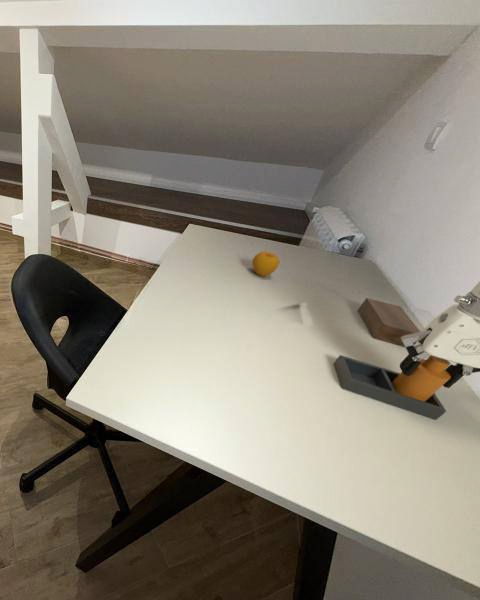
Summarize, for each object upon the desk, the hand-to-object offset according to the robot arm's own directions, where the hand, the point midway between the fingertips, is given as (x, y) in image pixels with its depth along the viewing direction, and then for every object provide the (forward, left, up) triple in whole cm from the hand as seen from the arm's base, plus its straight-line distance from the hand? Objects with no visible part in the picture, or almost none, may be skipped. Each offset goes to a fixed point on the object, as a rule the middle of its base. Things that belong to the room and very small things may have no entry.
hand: (423, 376), depth 67 cm
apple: (+28, -50, -7) cm, 58 cm away
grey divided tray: (+4, 0, -7) cm, 8 cm away
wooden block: (-6, -33, -7) cm, 34 cm away
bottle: (0, 0, -6) cm, 6 cm away
